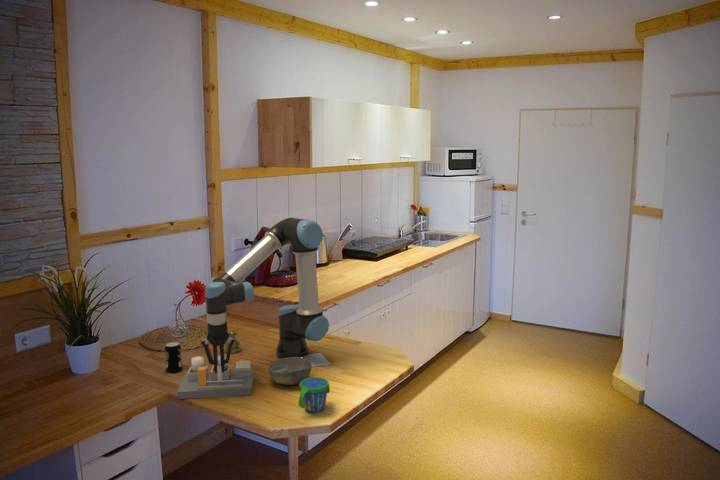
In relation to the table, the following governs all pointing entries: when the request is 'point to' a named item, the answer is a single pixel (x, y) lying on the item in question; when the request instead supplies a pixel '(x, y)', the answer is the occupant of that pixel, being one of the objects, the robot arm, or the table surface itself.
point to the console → (216, 384)
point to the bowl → (290, 370)
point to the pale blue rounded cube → (220, 361)
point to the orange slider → (202, 376)
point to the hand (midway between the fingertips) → (220, 380)
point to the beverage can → (173, 357)
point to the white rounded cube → (197, 363)
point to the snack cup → (313, 393)
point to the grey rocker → (242, 366)
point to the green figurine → (236, 345)
